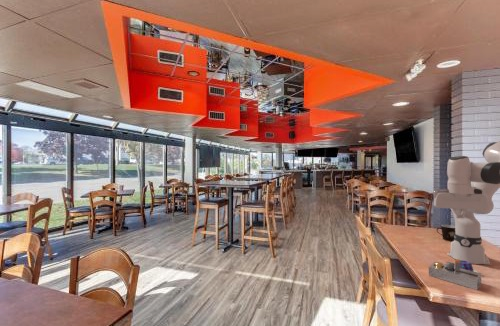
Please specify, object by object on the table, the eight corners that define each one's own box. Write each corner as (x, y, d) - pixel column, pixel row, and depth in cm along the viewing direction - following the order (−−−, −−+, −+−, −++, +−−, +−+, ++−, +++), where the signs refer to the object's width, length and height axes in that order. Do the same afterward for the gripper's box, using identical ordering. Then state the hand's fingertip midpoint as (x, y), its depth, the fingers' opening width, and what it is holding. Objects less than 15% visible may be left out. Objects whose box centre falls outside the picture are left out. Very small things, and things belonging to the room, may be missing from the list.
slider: (456, 269, 119) (456, 258, 119) (460, 270, 118) (460, 259, 118) (455, 270, 117) (455, 260, 117) (459, 271, 116) (459, 261, 116)
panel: (434, 270, 128) (434, 261, 128) (481, 283, 114) (481, 273, 114) (428, 275, 122) (428, 266, 122) (477, 290, 108) (477, 279, 108)
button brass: (436, 268, 125) (436, 261, 125) (443, 270, 123) (443, 263, 123) (434, 269, 123) (434, 263, 123) (441, 272, 121) (441, 264, 121)
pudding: (460, 266, 134) (460, 256, 134) (486, 276, 122) (486, 265, 122) (443, 268, 131) (443, 258, 131) (467, 278, 120) (467, 267, 120)
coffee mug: (454, 239, 180) (455, 225, 180) (457, 242, 173) (457, 228, 173) (435, 236, 186) (435, 223, 186) (436, 239, 179) (436, 226, 179)
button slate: (447, 268, 122) (447, 261, 122) (454, 270, 119) (454, 263, 119) (445, 270, 120) (445, 263, 120) (453, 272, 117) (453, 265, 117)
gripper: (435, 189, 119) (436, 218, 119) (489, 190, 112) (490, 220, 112) (431, 188, 125) (432, 215, 125) (482, 189, 117) (483, 217, 117)
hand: (459, 217), depth 118 cm, fingers closed
